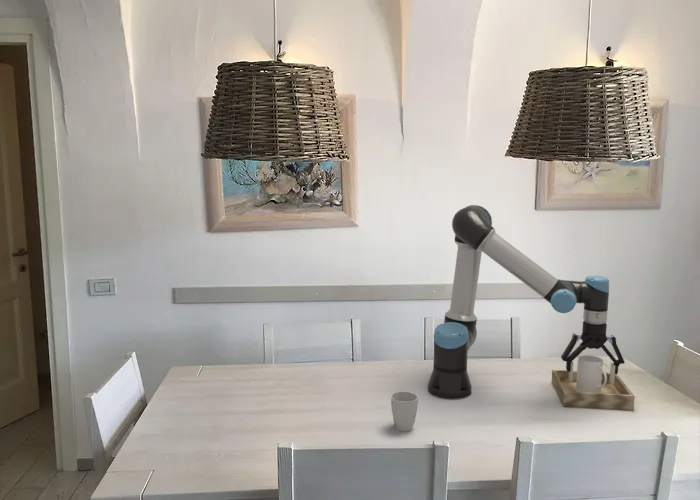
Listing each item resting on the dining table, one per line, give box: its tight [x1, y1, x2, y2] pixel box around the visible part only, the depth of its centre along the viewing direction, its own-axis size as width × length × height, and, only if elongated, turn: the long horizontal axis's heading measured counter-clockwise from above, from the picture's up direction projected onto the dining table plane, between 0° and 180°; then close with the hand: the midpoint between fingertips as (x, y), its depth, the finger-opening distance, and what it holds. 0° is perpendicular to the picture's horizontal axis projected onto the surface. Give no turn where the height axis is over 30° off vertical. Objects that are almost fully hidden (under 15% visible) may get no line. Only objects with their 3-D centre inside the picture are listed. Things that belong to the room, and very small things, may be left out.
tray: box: [550, 369, 636, 412], centre depth 209 cm, size 22×22×5 cm
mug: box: [575, 354, 607, 393], centre depth 208 cm, size 12×8×12 cm
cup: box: [390, 390, 419, 432], centre depth 183 cm, size 8×8×10 cm
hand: (591, 381), depth 209 cm, fingers open, 13 cm apart
